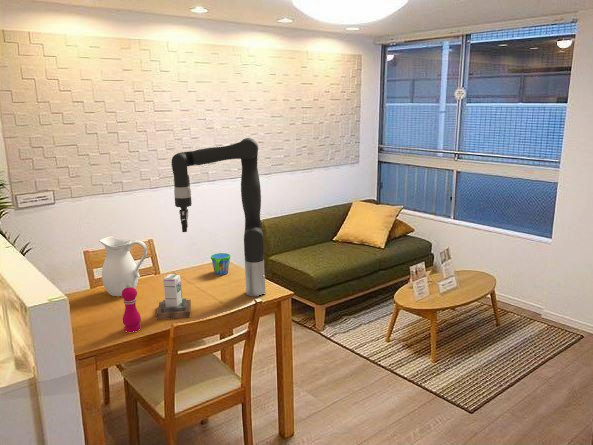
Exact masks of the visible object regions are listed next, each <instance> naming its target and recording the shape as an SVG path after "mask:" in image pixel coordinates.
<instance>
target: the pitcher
mask: <svg viewBox="0 0 593 445" xmlns="http://www.w3.org/2000/svg"><path fill="white" fill-rule="evenodd" d="M98 242H100V243H101V244H102V245H103V246H104V248H105V249H106V254H105V258H104V261H103V265H102V269H101V270H102V271H101V280H102V284H103V287H104V288H105V290H106V291H107V293H108V294H109V295H110V296H111V295H112V296H111V297H114V296H121V297H122V291H123V289H125V288H127V287H126V285H127V284H130V285H131V287H133V288H135V289H136V288H137V286H138V283H139V278H141V275H140V273H139V268H140V266H141V265H142V263H143V262H144V261H145V259H146V257H147V256H148V255H147V254H148V247H147V244H146V243H145V242H144V241H142V240H134V241H132V240H131V239H130V240H123V239H120V238H118V237H115V236H111V235H110V236H109V235H108V236H106V237H104V238H102V239H100V240H98ZM135 245H139V246H141V248H142V249H143V253H142V256H141V259H140V260H139V262H138V263H137V264H136V262H135V260H134V258H133V256H132V254H131V252H130V251H131V250H132V247H133V246H135ZM136 290H137V289H136Z"/></svg>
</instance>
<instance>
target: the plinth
mask: <svg viewBox="0 0 593 445" xmlns="http://www.w3.org/2000/svg"><path fill="white" fill-rule="evenodd" d="M182 301H183V305H182V306H181V307H168V308H166V303H165V299H163V300H162V301H159V302H158V306H157V311H156V320H157V321H159V320H169V319H170V320H171V319H180V318H191V309H192V306H191V303H192V302H191V299H187V298H182Z"/></svg>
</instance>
